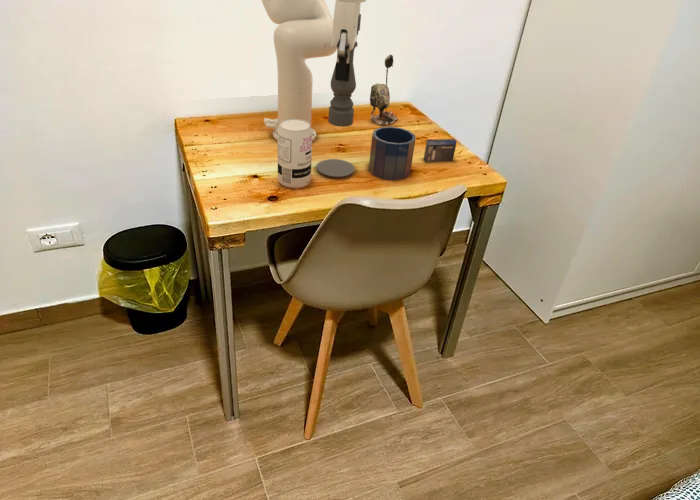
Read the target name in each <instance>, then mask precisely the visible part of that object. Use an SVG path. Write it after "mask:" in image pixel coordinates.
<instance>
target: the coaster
mask: <svg viewBox="0 0 700 500" xmlns="http://www.w3.org/2000/svg"><path fill="white" fill-rule="evenodd" d="M315 168H316V169H315V170H316V172H317V173H318V175H320V176H321V177H324V178H326V179H330V180H331V179H332V180H344V179H348V178H351V177H352V176H354V174H355V172H356V171H355V166H354V165H353V164H352V163H351V162H348V161H347V160H344V159H337V158H330V159H324V160H321V161H319V162H318V163H317V164H316V167H315Z"/></svg>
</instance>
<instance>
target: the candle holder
mask: <svg viewBox="0 0 700 500" xmlns="http://www.w3.org/2000/svg"><path fill="white" fill-rule="evenodd" d="M361 19H362V14H361V13H360V15H359V16H358V26H357V36H358V35H359V31H361V22H362V21H361ZM348 45H349V44H348ZM348 47H349V46H346V48H345V49H348ZM357 47H358V42H357V41H356V42H355V45H354V48H353V49H352V50H350V58H349V63H350V74H349V81H340V80H336V79H335V72H336V64H335V65H334V67H333V68H334V69H333V72H332V75H331V78H330V89H331V91H332V92H333V93H332V95H333V97H332V99H331V100H330V102H329V103H330V106H329V107H328V119H327V122H328V124H330V125H332V126H334V127H339V128H341V127H342V128H344V127H351V126H352V125H353V124H354V115H355V108H353V107H354V102H353V100H352V98H351V97H352V96H353V95H352V94H353V93H354V92H355V90H356V88H357V81H356V74H355V66H354V56H355V49H356V48H357ZM337 52H338V45H337V51H336V53H337ZM345 53H346V54H347V52H345ZM336 62H337V60H336V61H335V63H336Z"/></svg>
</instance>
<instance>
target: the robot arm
mask: <svg viewBox="0 0 700 500" xmlns="http://www.w3.org/2000/svg"><path fill="white" fill-rule="evenodd" d="M365 2H367V0H335V2H334V10H333V16H332V15H331V12H330V9H329V8H328V5H327V3H326V0H261V4H262V5H263V8H264V10H265V12H266V14H267V17H268V18H269V20H270V21H271V22H272V23H273V24H275V25H277V26H276V27H275V29H274V32H273V46H274V52H275V56H276V66H277V69H276V70H277V118H273V119H272V118H268V117H264V118H263V125H264V126H265V128H266V129H272V137H273V139H274V140H275V141H277V142H278V139H277V129H278V127H279V126H280V123H281V122H282V121H284V120H287V119H300V120H304V121H307V122H308V123H309V124H310V127H311V129H312V132H313V133H312V142H314V141H315V140H316V138H317V132H316V130H315V129H314V128H312V115H313V113H312V112H313V111H312V110H313V81H314V80H313V79H314V78H313V74H312V71H311V69H310V67H309V66H308V65H307V63H306V60H309V59H316V58H324V57H330V56H332V55H333V54H335V53H336V61H337V62H336V61H335V65H336V72H335V79H336V80H340V81H349V74H350V63H349V58H350V50H352V49H353V48H354V45H355V42H357V40H358V35H357V26H358V16H359V15H360V14H361V3H365ZM348 44H349V45H348ZM337 45H338V52H337ZM346 46H349V47H348V49H345V48H346ZM345 52H347V54H346V53H345Z"/></svg>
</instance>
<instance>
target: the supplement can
mask: <svg viewBox="0 0 700 500" xmlns="http://www.w3.org/2000/svg"><path fill="white" fill-rule="evenodd" d="M311 128H312V126H311V127H310V124H309V123H308V122H307V121H304V120H300V119H287V120H284V121H282V122H281V123H280V126H279V127H278V129H277V139H278V141H277V181H278V182H279V184H281V185H282V186H283V187H285V188H288V189H302V188H304V187H306V186H307V185H308V184H310V182H311V181H312V159H313V141H312V133H313V132H312V129H313V128H312V129H311Z"/></svg>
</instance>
